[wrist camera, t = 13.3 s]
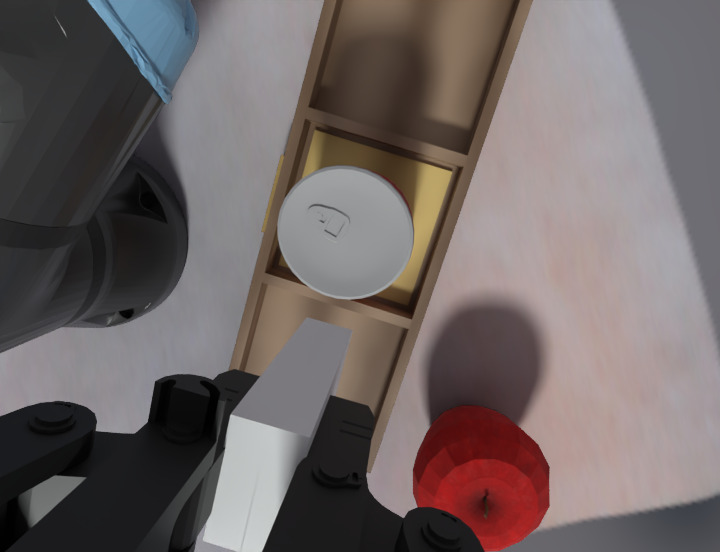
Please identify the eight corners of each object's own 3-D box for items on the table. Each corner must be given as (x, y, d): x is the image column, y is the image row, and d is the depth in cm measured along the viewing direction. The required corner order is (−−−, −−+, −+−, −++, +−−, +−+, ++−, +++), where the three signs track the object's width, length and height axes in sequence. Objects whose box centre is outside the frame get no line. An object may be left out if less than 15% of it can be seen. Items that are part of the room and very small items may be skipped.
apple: (439, 499, 43) (450, 602, 33) (392, 408, 42) (386, 485, 32) (545, 459, 42) (592, 554, 31) (498, 363, 40) (531, 427, 30)
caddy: (225, 404, 44) (211, 421, 41) (348, -68, 35) (343, -91, 32) (372, 453, 43) (370, 473, 40) (532, -15, 35) (544, -33, 32)
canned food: (325, 158, 38) (292, 148, 27) (425, 185, 37) (432, 186, 26) (302, 252, 39) (262, 279, 28) (397, 279, 39) (393, 316, 28)
